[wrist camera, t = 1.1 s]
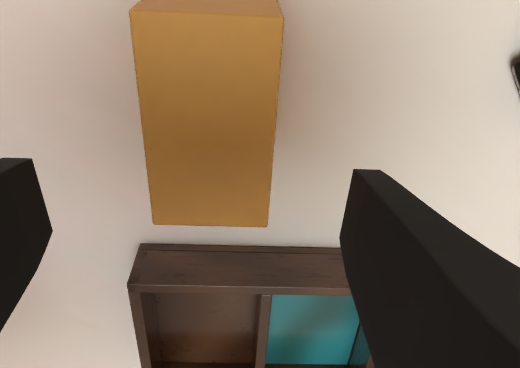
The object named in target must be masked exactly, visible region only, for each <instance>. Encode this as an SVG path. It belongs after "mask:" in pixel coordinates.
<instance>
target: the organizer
mask: <svg viewBox="0 0 520 368" xmlns="http://www.w3.org/2000/svg"><path fill="white" fill-rule="evenodd" d="M127 288H128V294H129V300H130V305H131V311H132V317H133V322H134V328H135V334H136V339H137V345H138V350H139V356H140V362H141V367H142V368H375V367H374V363H373V360H372V357H371V354H370V351H369V348H368V344H367V341H366V338H365V335H364V332H363V329H362V326H361V322H360V319H359V316H358V313H357V310H356V307H355V304H354V300H353V297H352V294H351V291H350V288H349V284H348V281H347V278H346V274H345V268H344V263H343V257H342V251H341V248H299V247H256V246H212V245H168V244H140V246H139V249H138V252H137V255H136V258H135V261H134V264H133V267H132V270H131V273H130V276H129V279H128V282H127Z"/></svg>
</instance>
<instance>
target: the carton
mask: <svg viewBox="0 0 520 368" xmlns="http://www.w3.org/2000/svg"><path fill="white" fill-rule="evenodd" d="M129 18H130V27H131V35H132V44H133V53H134V62H135V70H136V79H137V88H138V97H139V105H140V114H141V123H142V132H143V140H144V149H145V158H146V167H147V175H148V184H149V193H150V201H151V210H152V219H153V224H155V225H195V226H235V227H267V225H268V214H269V202H270V190H271V177H272V165H273V152H274V140H275V127H276V115H277V102H278V90H279V77H280V65H281V52H282V40H283V28H284V17H283V15H282V12H281V9H280V7H279V4H278V1H277V0H141V1H140V2H139V3H137V4H136V5H135V6H133V7H132V8H131V9H129Z"/></svg>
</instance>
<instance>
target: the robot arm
mask: <svg viewBox="0 0 520 368" xmlns="http://www.w3.org/2000/svg"><path fill="white" fill-rule="evenodd" d="M52 232H53V230H52V227H51V223H50V220H49V216H48V213H47V209H46V206H45V202H44V199H43V195H42V192H41V188H40V185H39V182H38V178H37V175H36V171H35V168H34V164H33V161H32V159H29V158H1V159H0V332H1V330H2V328H3V327H4V325H5V323H6V322H7V320H8V318H9V317H10V315H11V313H12V312H13V310H14V308H15V307H16V305H17V303H18V302H19V300H20V298H21V297H22V295H23V293H24V291H25V290H26V288H27V286H28V285H29V283H30V281H31V279H32V278H33V276H34V274H35V272H36V271H37V269H38V266H39V264H40V262H41V259H42V257H43V255H44V252H45V250H46V247H47V245H48V242H49V239H50V237H51V234H52ZM339 239H340V245H341V251H342V257H343V263H344V268H345V274H346V278H347V281H348V284H349V288H350V291H351V294H352V297H353V300H354V304H355V307H356V310H357V313H358V316H359V319H360V322H361V326H362V329H363V332H364V335H365V338H366V341H367V344H368V348H369V351H370V354H371V357H372V360H373V363H374V367H375V368H520V268H519V267H518V266H516V265H514V264H513V263H511V262H509V261H508V260H506V259H504V258H503V257H501V256H499V255H498V254H496V253H495V252H493V251H492V250H490V249H489V248H487V247H486V246H484V245H483V244H481V243H480V242H478V241H477V240H475V239H474V238H472V237H471V236H469V235H468V234H466V233H465V232H463V231H462V230H460V229H459V228H458V227H456V226H455V225H453V224H452V223H451V222H449V221H448V220H447V219H445V218H444V217H442V216H441V215H440V214H438V213H437V212H436V211H434V210H433V209H432V208H430V207H429V206H428V205H426V204H425V203H424V202H423V201H421V200H420V199H419V198H417V197H416V196H415V195H413V194H412V193H411V192H410V191H408V190H407V189H406V188H404V187H403V186H402V185H400V184H399V183H398V182H397V181H395V180H394V179H392V178H391V177H390V176H388V175H387V174H385V173H384V172H382V171H381V170H366V169H353V174H352V179H351V184H350V189H349V194H348V199H347V203H346V208H345V213H344V218H343V223H342V228H341V232H340V237H339Z"/></svg>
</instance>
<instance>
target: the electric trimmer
mask: <svg viewBox="0 0 520 368" xmlns="http://www.w3.org/2000/svg"><path fill="white" fill-rule="evenodd" d="M510 66H511V65H510ZM513 67H514V68H511V69H512V70H513V72H512V73H514V75H513V76H515V77H516V78H515V80H516V84H517V85H518V86H517V88H520V61H519V62H517V63H516V64H515V65H514V66H513ZM518 92H520V89H519V90H518ZM519 95H520V94H519Z"/></svg>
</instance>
